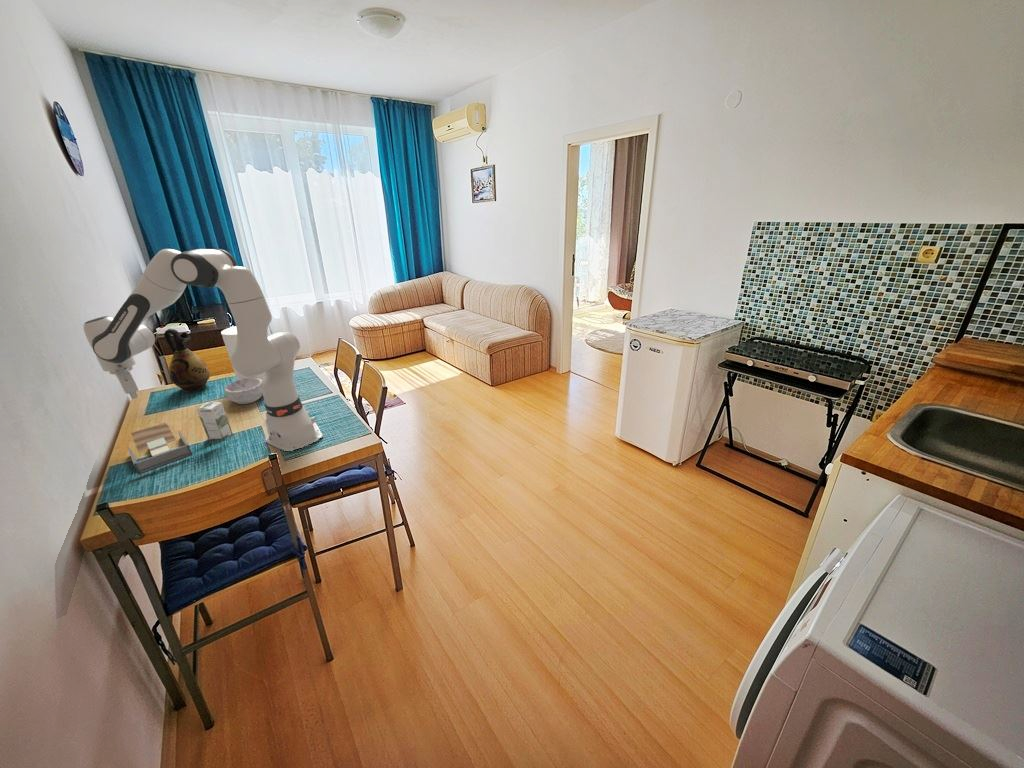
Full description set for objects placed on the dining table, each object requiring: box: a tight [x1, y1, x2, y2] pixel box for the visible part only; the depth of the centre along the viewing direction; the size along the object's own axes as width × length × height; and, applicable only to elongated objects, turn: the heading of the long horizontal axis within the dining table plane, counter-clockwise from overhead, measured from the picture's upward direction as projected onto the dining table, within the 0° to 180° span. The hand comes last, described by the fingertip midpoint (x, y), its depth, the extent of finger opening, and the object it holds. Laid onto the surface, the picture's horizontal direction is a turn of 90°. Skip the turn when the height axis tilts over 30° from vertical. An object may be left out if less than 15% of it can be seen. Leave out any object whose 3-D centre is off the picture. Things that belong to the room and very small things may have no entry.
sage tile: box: [147, 437, 169, 451], centre depth 149 cm, size 5×5×2 cm
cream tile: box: [149, 444, 171, 457], centre depth 146 cm, size 5×5×2 cm
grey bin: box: [127, 430, 194, 476], centre depth 146 cm, size 15×15×4 cm
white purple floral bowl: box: [224, 378, 263, 405], centre depth 186 cm, size 15×15×8 cm
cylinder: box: [220, 325, 265, 381], centre depth 199 cm, size 17×17×28 cm
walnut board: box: [130, 422, 177, 453], centre depth 157 cm, size 20×11×2 cm, turn 47°
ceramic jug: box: [163, 328, 211, 393], centre depth 194 cm, size 17×15×30 cm
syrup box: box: [196, 401, 233, 440], centre depth 154 cm, size 6×6×14 cm
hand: (134, 397), depth 149 cm, fingers closed
